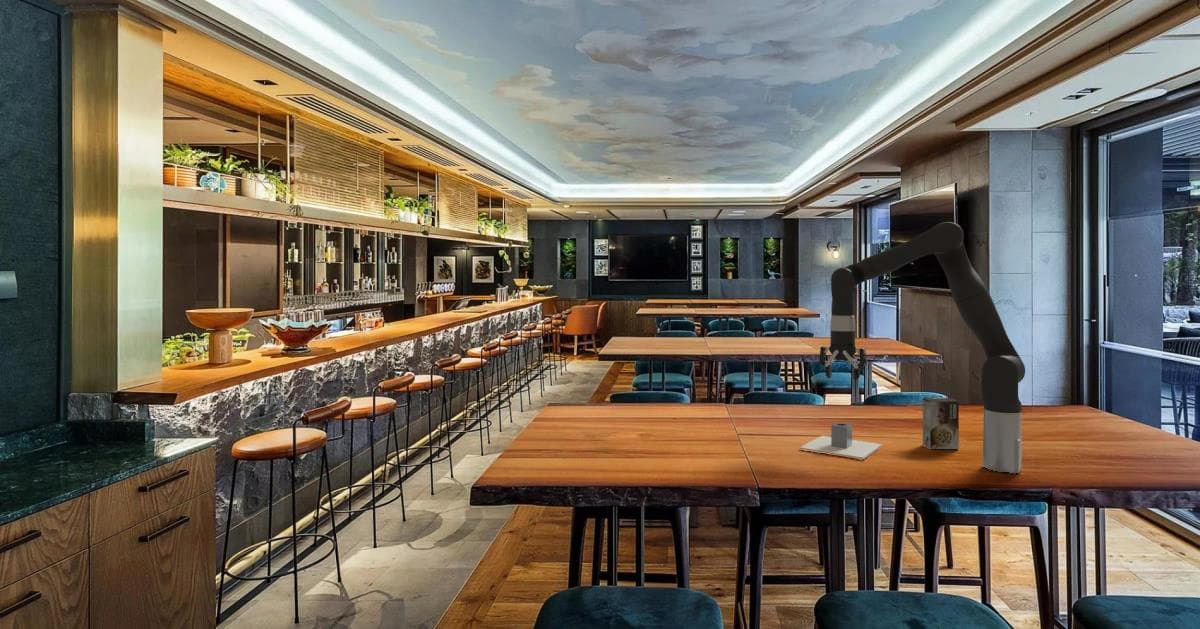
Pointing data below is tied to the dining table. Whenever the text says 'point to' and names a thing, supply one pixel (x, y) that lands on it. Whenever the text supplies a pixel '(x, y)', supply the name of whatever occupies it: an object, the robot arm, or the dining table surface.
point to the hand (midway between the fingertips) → (842, 378)
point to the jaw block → (841, 435)
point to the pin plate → (856, 450)
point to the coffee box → (941, 423)
